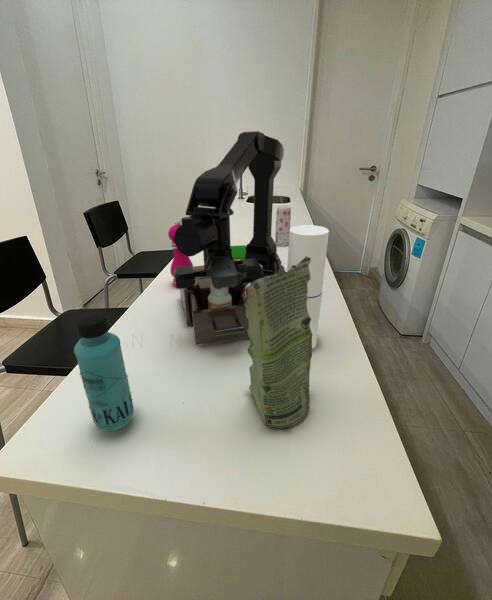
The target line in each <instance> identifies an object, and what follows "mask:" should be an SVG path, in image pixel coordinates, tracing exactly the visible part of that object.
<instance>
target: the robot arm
mask: <svg viewBox="0 0 492 600" xmlns="http://www.w3.org/2000/svg"><path fill="white" fill-rule="evenodd" d="M284 155H285V148H284V144H283V143H281V142H280V141H279V139H276V138H273V137H270V136H268V135H265V134H264V132H260V131H258V130H257V131H256V130H253V131H243V132H240V133H239V134H238V137H237V140H236V141H235V142H234V144H233V146H232V147H231V148H230V149H229V151H228V152H227V153H226V154H225V156H224V157H223V158H222V159H221V161H220V162H219V163H218V165H216V166H215V167H213V168H210V169H207V170H206V171H204V172H203V173H202V174H200V175H199V176H198V177H197V178H196V179H195V181H194V183H193V187H192V190H191V193H190V196H189V200H188V203H187V207H186V209H185V215H186V216H184V217H182V218H181V220H180V221H181V224H180V225H181V226H180V227H178V228H177V230H176V232H175V236H174V242H175V245H176V247H177V249H178V250H179V251H180V252H181V253H182V254H184V255H186V256H189V257H194V256H196V255H198V254H200V253H202V252H203V253H202V254H203V265H204V269H203V270H195V271H193V269H192V267H191V266H182V267H175V269H174V270H173V273H174V277H173V279H174V280H175V284H176V286H175V288H176V289H179V290H180V289H182V288H186V290H187V291H192V292H193V293H194V295H195V297H196V298H197V301H198V303H199V305H200V307H201V310H204V305H203V301H202V296H201V291H200V286H199V284H198V279H204V278H211V280H212V284H213V287H214V288H216V289H221V288H224V287H235V294H234V298H235V305H238V304H239V302H240V299H241V296H242V294H243V291H244V289H245V288H247V287H248V286H250V285H251V284H253V282H255V280H257V279H260V278H263V277H264V276H274V275H275V274H276V273H277V272H278V271H279V269H280V268H281V266H282V260H281V258H280V256H279V254H278V253H277V251H278V249H277V248H278V247H277V246H278V245H276V244H275V239H274V238H273V236H272V227H273V225H272V223H273V206H274V204H273V203H274V186H275V185H274V184H275V183H274V181H275V178H276V176H277V174H278V173H279V171H280V170H281V168H282V161H283V159H284ZM247 169H248V171H249V172H250V174H251V176H252V178H253V181H254V186H253V188H254V189H253V191H254V192H253V193H254V194H253V223H252V224H253V226H252V227H253V228H252V231H253V232H252V237H251V240H250V241H249V243H246V245H245V246H246V254H245V259H243V260H238V261H237V260H233V257H232V252H231V246H232V245H231V218H230V217H231V216H232V215H234V212H235V211H234V210H233V209H232V205H233V203H234V201H235V199H236V196H237V194H238V185H237V184H238V182H239V180H240V179H241V177H242V176H243V174H244V173H245V171H246V170H247Z"/></svg>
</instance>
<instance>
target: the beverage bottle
mask: <svg viewBox="0 0 492 600" xmlns="http://www.w3.org/2000/svg"><path fill="white" fill-rule="evenodd" d="M75 322H76V323H75V324H76V328H77V329H76V331H77V335H78V336H79V337H80V338H79V340H78V341H77V343H76V344H75V346H74V348H73V353H74V355H75V357H76V362H77V366H78V369H79V374H78V375H79V376H80V378H81V382H82V384H83V389H84V393H85V396H86V398H87V406H88V410H89V413H90V417H91V418H92V419H91V420H92V422H93V424H94V426H95V427H97V429H99V430H101V431H104V432H112V431H113V432H114V431H117V430H120V429H122V428H123V427H126V425H128V424H129V422H130V421H132V418H133V416H134V413H135V408H134V406H135V405H134V403H133V402H134V400H133V398H132V391H131V387H130V384H131V383H130V382H129V375H128V373H127V370H126V366H125V361H124V356H123V351H122V346H121V339H120V338H119V336H118V335H116V334H115V333H113V332H110V331H109V330H110V323H109V321H108V319H107V315H106V314H105V313H104V312H101V311H92V312H87V313H85V314H82V315H81V316H79V317H78V318H77V319H76V321H75Z"/></svg>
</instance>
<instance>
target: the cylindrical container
mask: <svg viewBox="0 0 492 600" xmlns="http://www.w3.org/2000/svg"><path fill="white" fill-rule="evenodd" d="M329 235H330V230H329V228H327V227H325V226H322V225H316V224H315V225H314V224H302V225H299V224H298V225H294V226H292V227H290V230H289V244H288V246H287V247H288V249H287V266H286V272H288V271H289V269H290V268H291V266H293V265H297V264H298V263H299V262H300V261H301V260H302V259H304V258H305V257H306V256H307V257H308V258H309V257H310V258H311V261H310V264H309V266H308V267H309V271H310V280H309V281H308V284H307V287H308V291H307V292H308V294H307V311H308V314H309V316H310V318H311V321H310V329H311V332H312V350H313V349H315V348H316V346H317V340H318V331H319V322H320V313H321V306H322V305H321V303H322V298H323V297H322V296H323V295H322V294H323V285H324V279H325V269H326V260H327V252H328V242H329Z"/></svg>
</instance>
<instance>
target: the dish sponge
mask: <svg viewBox="0 0 492 600" xmlns="http://www.w3.org/2000/svg"><path fill="white" fill-rule="evenodd" d="M246 246H247V245H244V244H243V245H231V252H232V257H233V260H237V261H238V260H243V259H245V254H246Z"/></svg>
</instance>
